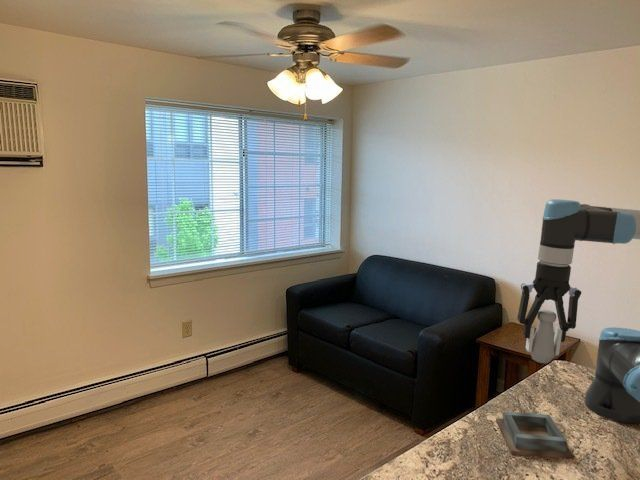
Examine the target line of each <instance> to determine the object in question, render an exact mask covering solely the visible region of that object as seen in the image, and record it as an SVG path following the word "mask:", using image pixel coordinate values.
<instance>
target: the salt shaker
mask: <svg viewBox="0 0 640 480" xmlns="http://www.w3.org/2000/svg"><path fill="white" fill-rule="evenodd" d="M536 318H537V319H538V324H537V326H536V330H535V331H534V337H533V344H532V351H531V352H529V353H530V356H531V359H532V360H533V361H535V362H537V363H541V364H547V363H550V362H551V361H552V360H553V358H554V356H555V348H554V335H555V331H554V323H555V322H556V321H557V313H555V312H554V311H552V310H549V309H540V310H539V312H538V314H537V316H536Z"/></svg>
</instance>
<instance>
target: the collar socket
mask: <svg viewBox="0 0 640 480" xmlns="http://www.w3.org/2000/svg"><path fill="white" fill-rule="evenodd" d="M495 422H496V424H497V426H498V429H499V432H500V433H501V435H502V438H503V439H504V442H505V444H506V446H507V448H508V450H509V453H510V454H511V455H519V456H520V455H521V456H529V457H530V456H531V457H545V458H556V459H567V460H568V459H570V460H574V459H575V458H574V457H575V455H574V453H572V451H571V449H570V448H569V446H568V440H567V439H566V437H565V436H564V434H563V432H561V430H560V428H559V427H558V425H557V424H556V423H555V421H554V420H553V418H552V416H551V415H550V414H546V413H545V414H544V413H543V414H541V413H532V412H531V413H527V412H516V411H514V412H513V411H503V413H502V418H501V417H500V418H497V417H496V418H495Z"/></svg>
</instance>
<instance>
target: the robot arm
mask: <svg viewBox="0 0 640 480" xmlns="http://www.w3.org/2000/svg"><path fill="white" fill-rule="evenodd" d="M541 223H542V225H541V233H540V234H541V235H540V242H539V247H538V248H539V249H538V254H537V259H538V260H539V261H538V262H537V263H536V267H535V268H536V270H535V278H534V280H533V281H532V283H527V284H526V283H520V289H521V297H520V303H519V308H518V314H517V317H516V318H517V320H518V322H519V324H522V325H524V326H523V334H522V335H523V337H524V338H525V339H526V342H525V350H526V351H527V352H528V353H530V352H531V351H532V344H533V337H534V335H535V327H534V325H533V324H534V322H535V320H536V318H537V314H538V312H539V311H540V310H541V308H542V305H543V304H544V303H545V301H549V300H551V301H554V305H555V310H556V317H557V320H558V325H559V326H555V331H554V348H555V354H554V356H559V355H560V349H561V344H562V343H564V342H565V341H566V335H567V332H568V331H569V330H570V329H573V330H574V329H575V328H576V327H577V316H578V305H579V304H578V303H579V299H580V297H581V295H582V291H581V290H580V289H579V288H577V287H572V286H571V285H570V278H571V271H572V266H571V264H572V263H573V258H574V248H575V246H576V245H575V243H576V241H578V242H579V241H580V242H583V241H584V242H594V243H604V244H607V243H608V244H613V245H615V244H620V245H621V244H628V243H629V242H631V241H632V240H640V209H628V208H619V207H605V206H594V205H590V204H585V203H584V204H582V203H581V202H579V201H577V200H571V199H570V200H569V199H558V198H556V199H555V198H554V199H549V200H548V201H546V202H545V207H544V211H543V216H542V222H541ZM533 289H534V290H535V292H536V294H535V297H534V300H533V302H532V305H531V306H530V309H529V310H528V307H529V300H530V294H531V293H532V292H533ZM567 293H568V295H569V298H568V308H567V309H568V310H567V317H566V312H565V307H564V299H563V297H564V296H565V295H566V294H567ZM597 347H598V349H597V357H596V365H595V373H594V377H593V380H592V381H591V383H590V385H589V387H588V388H587V390H586V392H585V393H584V403H585V405H586V407H587V408H588V409H589V410H591V411H592V412H594V413H595V414H597V415H599V416H601V417H604V419H605V418H606V419H609V420H612V421H615V422H620V423H624V424H638V423H637V422H640V330H636V329H634V328H633V329H632V328H627V327H626V328H625V327H611V326H610V327H605V328H602V330H601V331H600V336H599V338H598V346H597Z"/></svg>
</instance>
